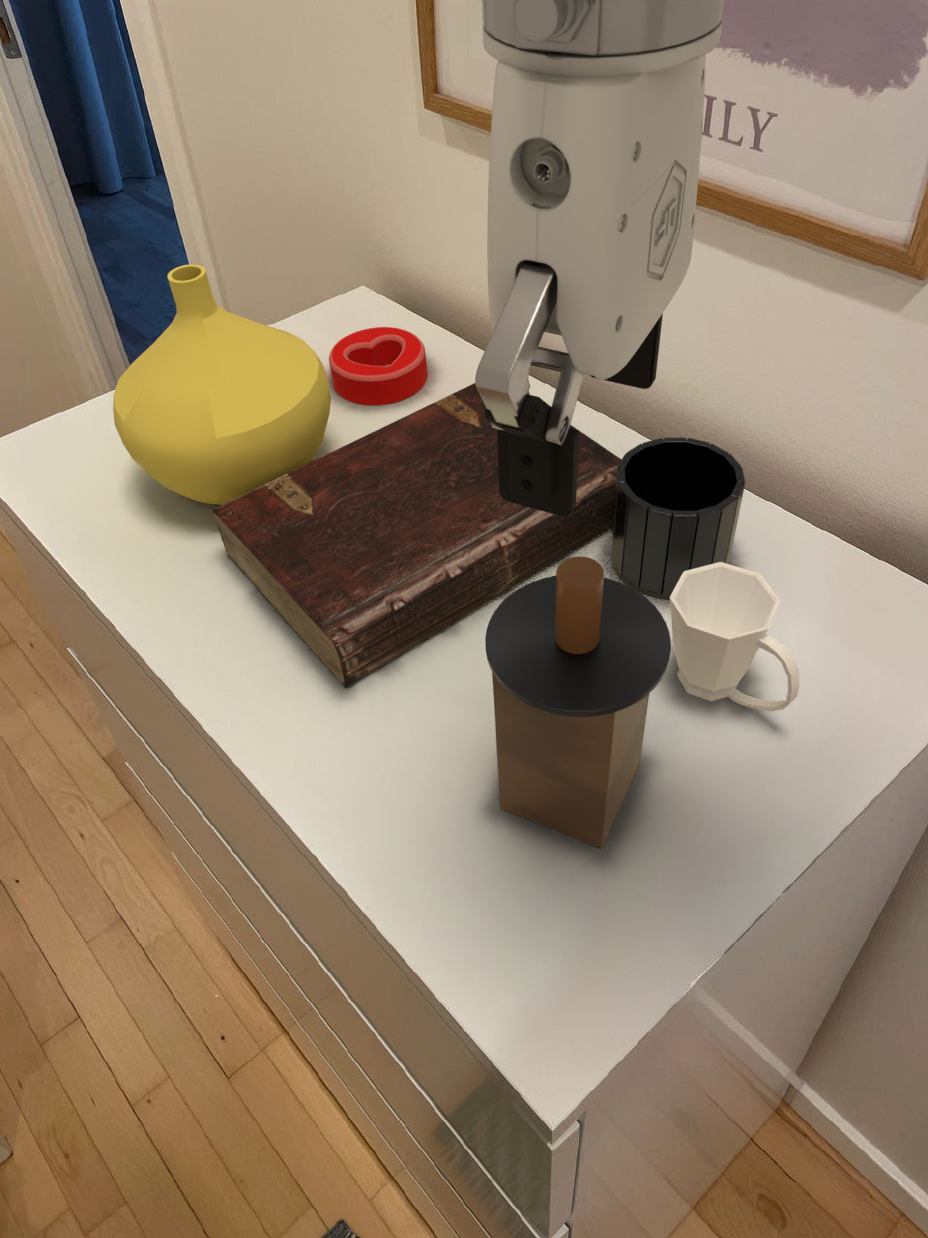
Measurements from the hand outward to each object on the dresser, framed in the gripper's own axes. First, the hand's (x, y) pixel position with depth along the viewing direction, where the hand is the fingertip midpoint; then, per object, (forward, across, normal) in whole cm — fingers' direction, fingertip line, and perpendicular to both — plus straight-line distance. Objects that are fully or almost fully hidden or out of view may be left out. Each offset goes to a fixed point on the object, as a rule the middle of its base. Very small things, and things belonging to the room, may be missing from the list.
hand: (581, 438), depth 42 cm
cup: (+28, +12, -7) cm, 31 cm away
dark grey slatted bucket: (+28, +23, +1) cm, 36 cm away
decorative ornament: (+28, +37, +36) cm, 58 cm away
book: (+28, +18, +20) cm, 38 cm away
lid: (+14, 0, 0) cm, 14 cm away
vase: (+28, +19, +40) cm, 52 cm away
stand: (+28, 0, 0) cm, 28 cm away
